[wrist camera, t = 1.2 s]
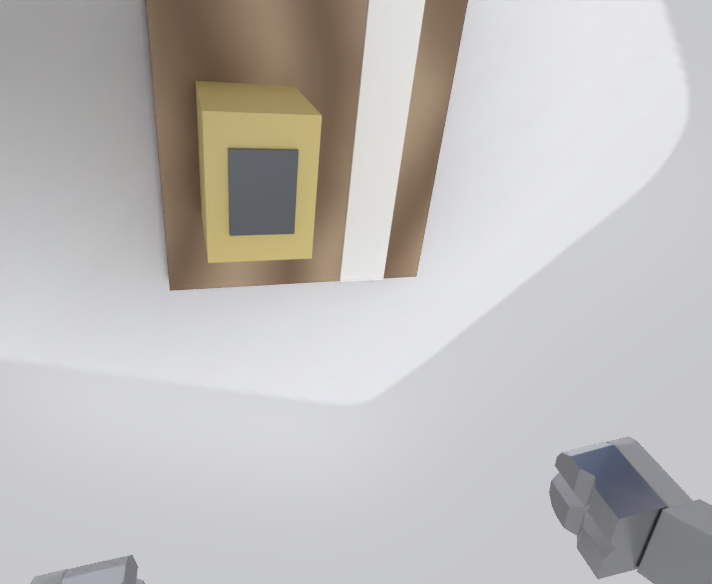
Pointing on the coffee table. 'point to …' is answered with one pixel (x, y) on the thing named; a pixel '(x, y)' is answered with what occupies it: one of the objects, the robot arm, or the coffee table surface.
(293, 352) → the coffee table surface
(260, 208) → the block
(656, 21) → the coffee table surface
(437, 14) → the board
